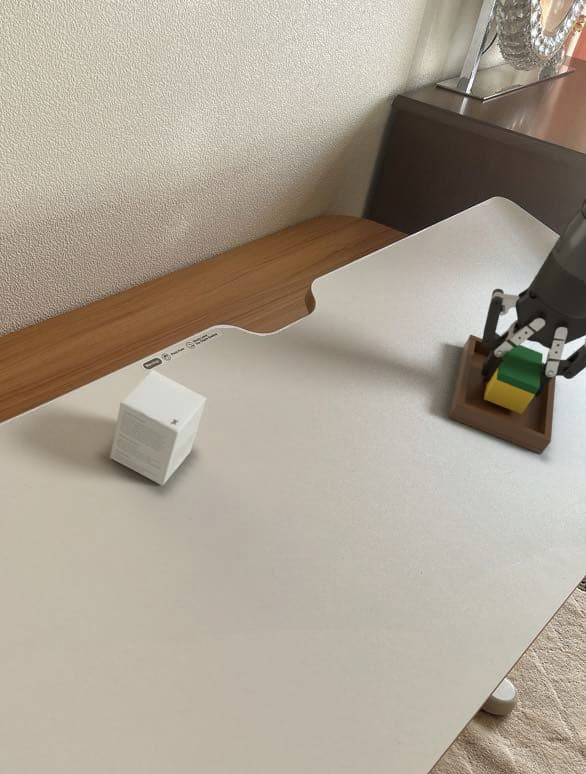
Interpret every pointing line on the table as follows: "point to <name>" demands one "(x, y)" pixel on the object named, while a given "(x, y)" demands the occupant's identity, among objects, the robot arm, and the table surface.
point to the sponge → (515, 379)
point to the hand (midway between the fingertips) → (507, 385)
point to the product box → (156, 427)
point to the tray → (495, 419)
